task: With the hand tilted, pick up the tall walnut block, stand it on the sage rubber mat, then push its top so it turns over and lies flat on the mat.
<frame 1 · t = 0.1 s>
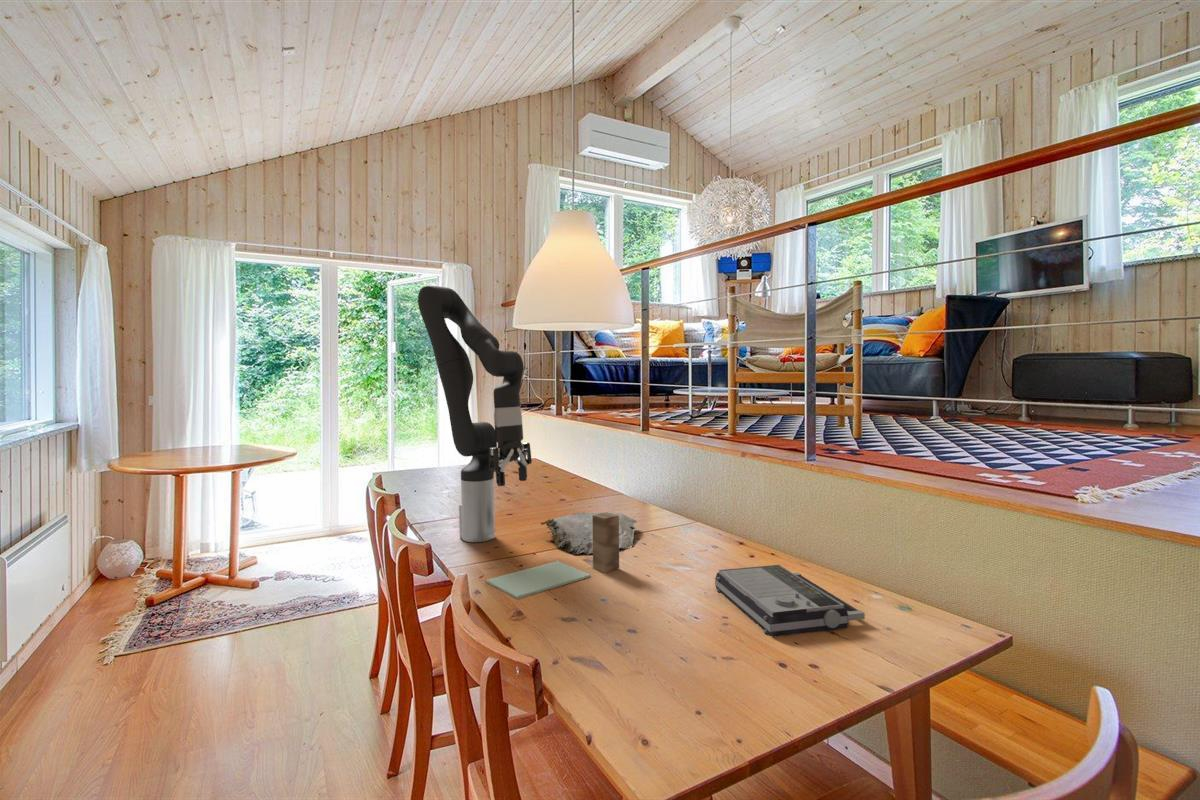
hand: (512, 483, 160), 17 cm above the table, tool pointing down, fingers open, 8 cm apart
radio: (785, 609, 118), on the table
stone fragment: (594, 540, 167), on the table
mat: (538, 579, 135), on the table
walnut block: (606, 568, 142), on the table
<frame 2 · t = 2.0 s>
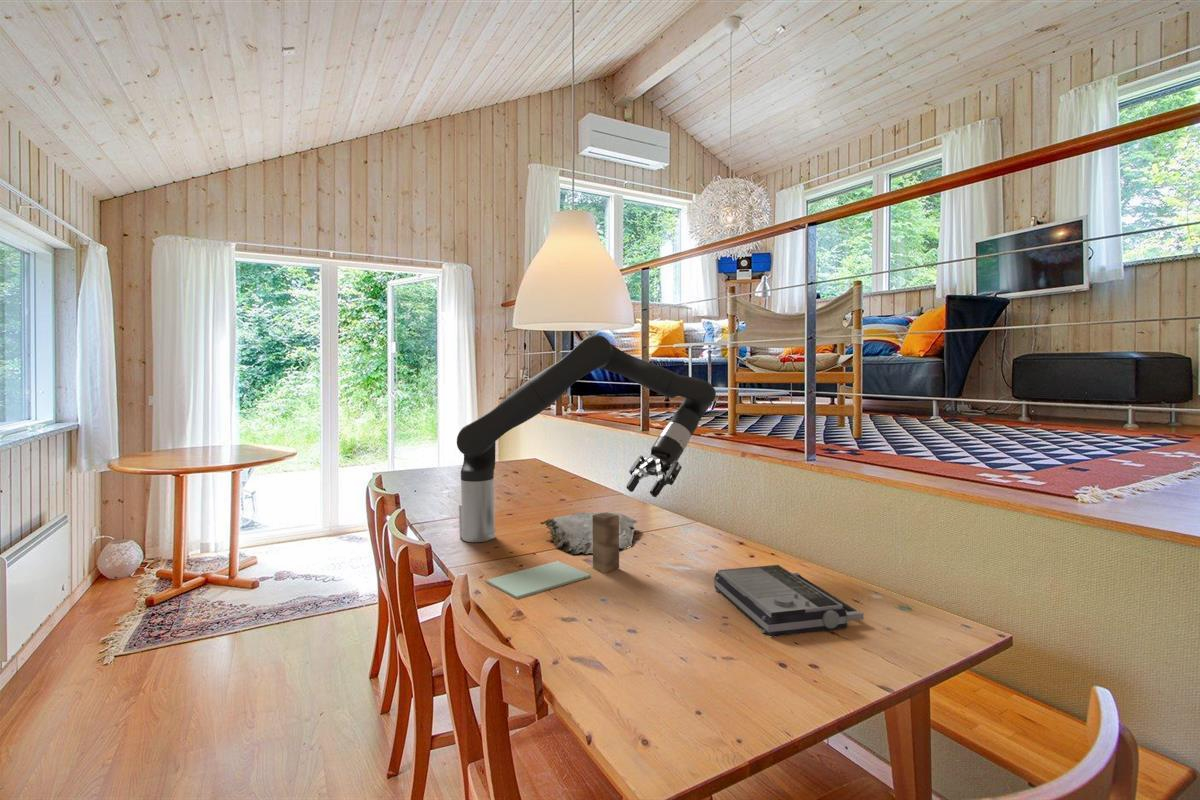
hand: (640, 492, 148), 17 cm above the table, tool tilted 45°, fingers open, 8 cm apart
nothing on the table moved.
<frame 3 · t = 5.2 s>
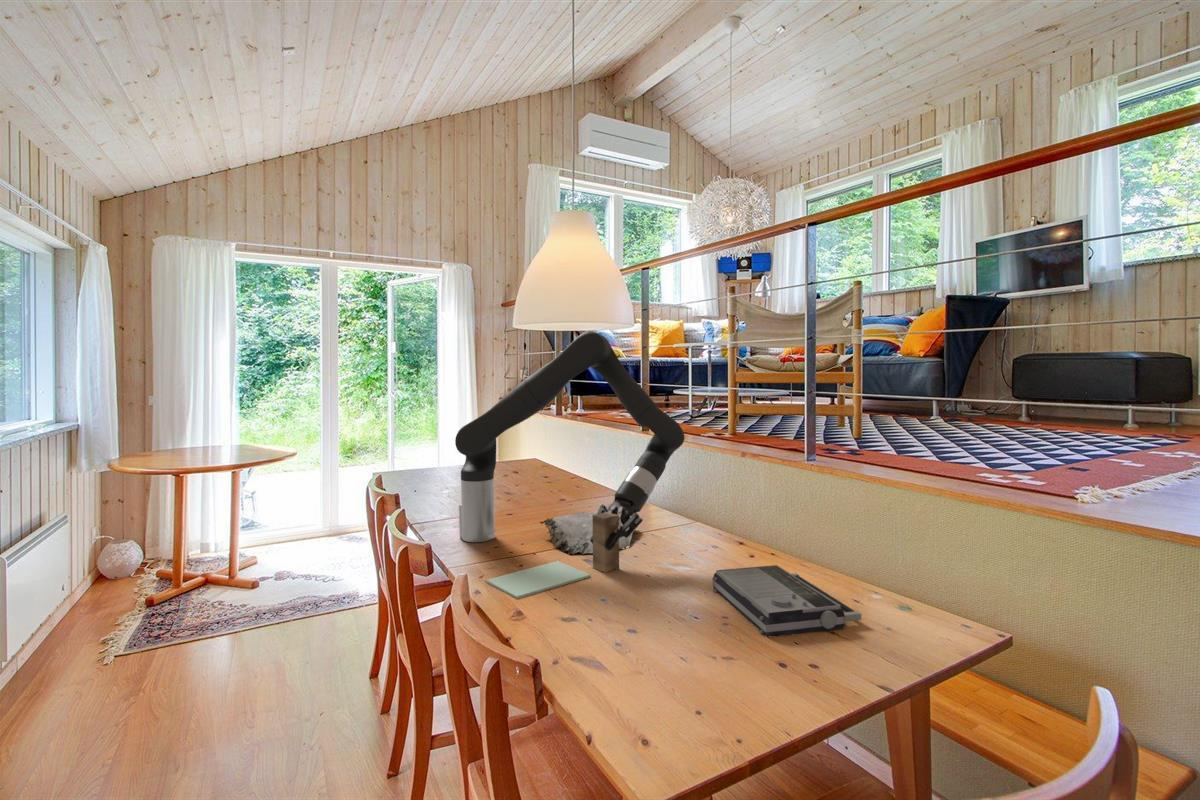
hand: (599, 545, 140), 6 cm above the table, tool tilted 45°, fingers closed on walnut block, 4 cm apart
walnut block: (606, 568, 142), on the table, touching gripper
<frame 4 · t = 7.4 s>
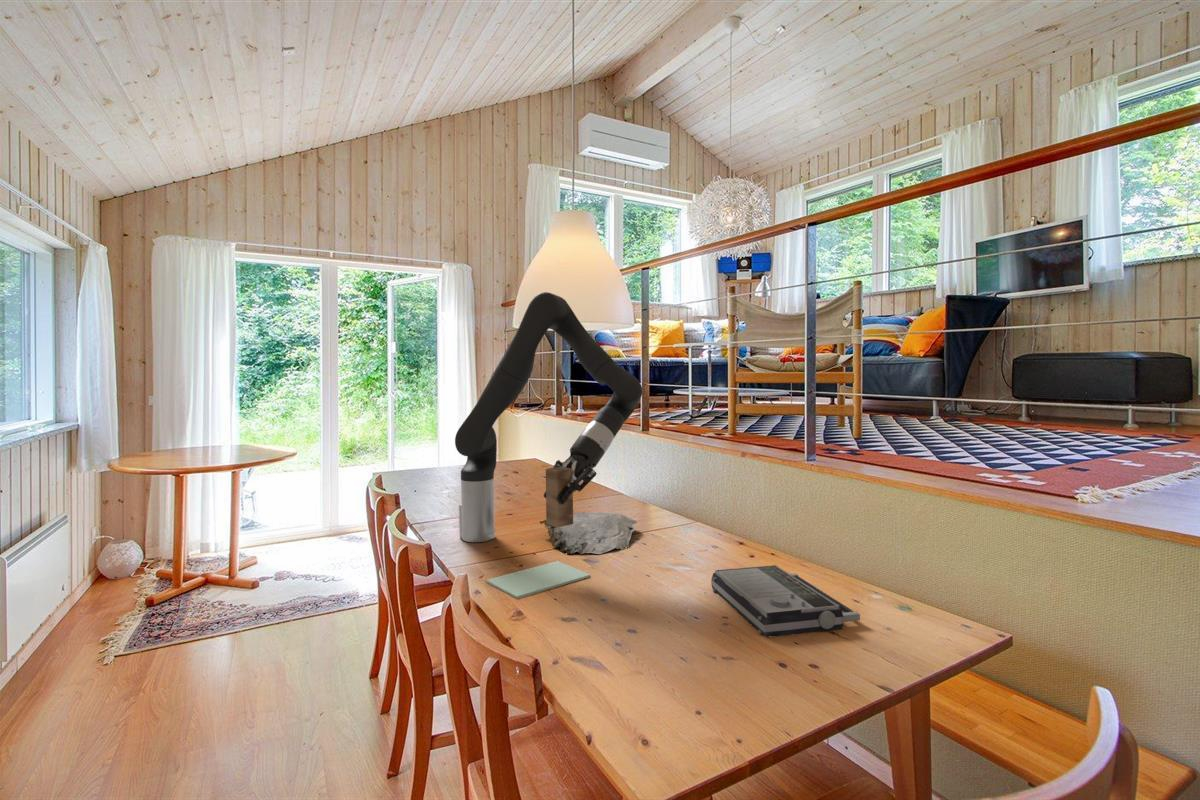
hand: (552, 500, 136), 18 cm above the table, tool tilted 45°, fingers closed on walnut block, 4 cm apart
walnut block: (559, 523, 138), point 12 cm above the table, touching gripper
everything else where it was.
when the fingers open (8 cm above the table, at t = 9.6 s): walnut block drops 1 cm, resting on mat.
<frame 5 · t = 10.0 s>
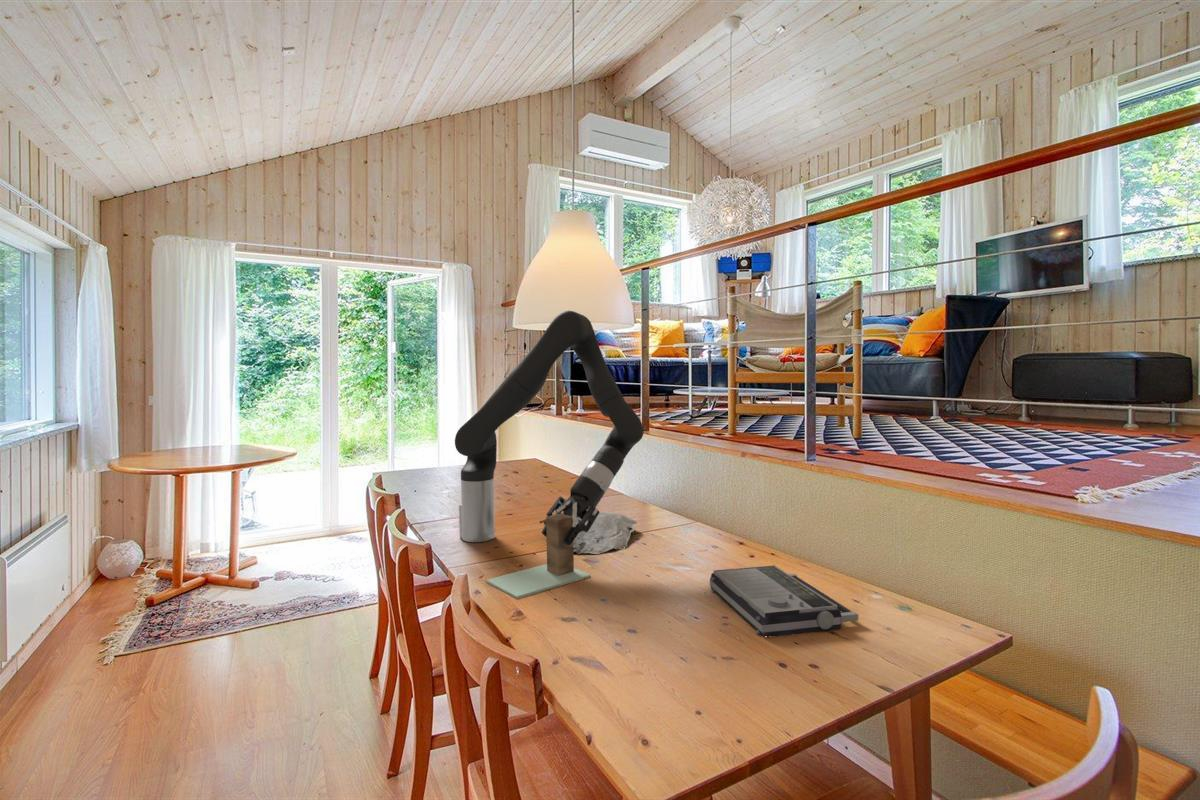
hand: (554, 539, 137), 8 cm above the table, tool tilted 45°, fingers open, 8 cm apart
walnut block: (560, 571, 139), resting on mat
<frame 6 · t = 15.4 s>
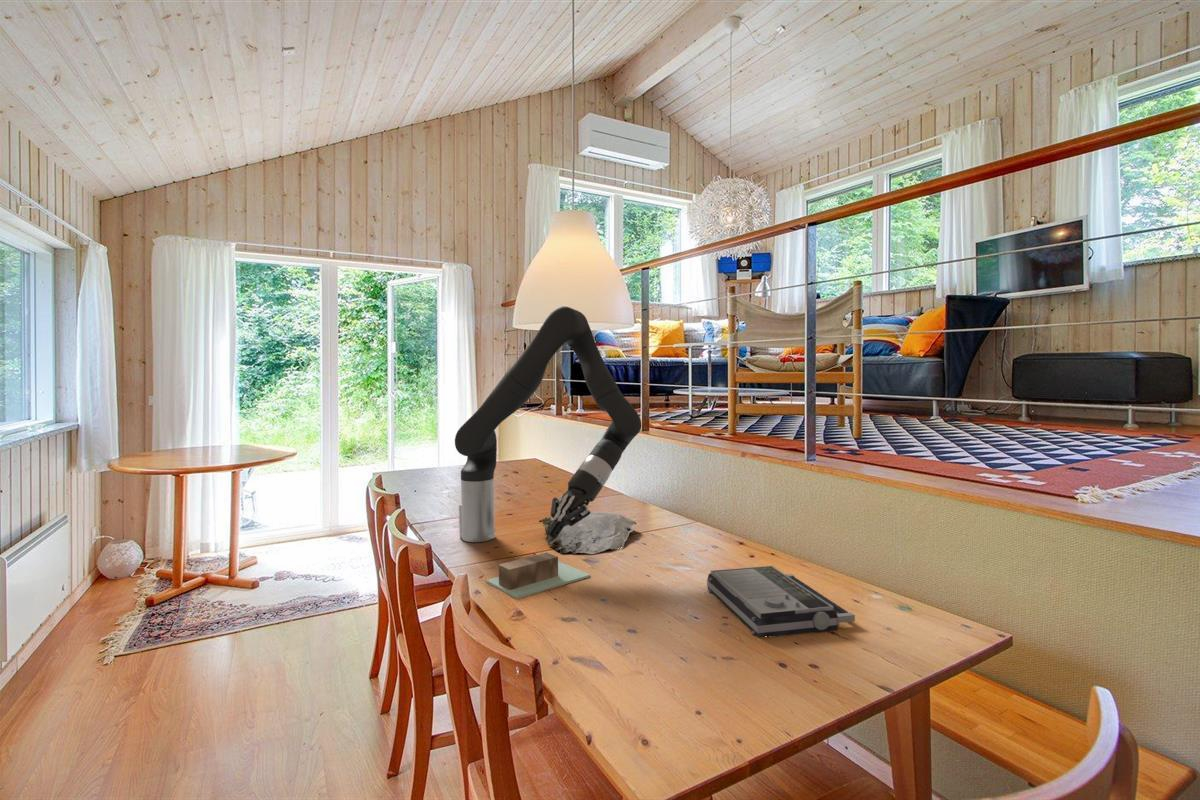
hand: (549, 536, 136), 9 cm above the table, tool tilted 45°, fingers closed
walnut block: (552, 564, 137), point 3 cm above the table, tilted 90°, touching mat
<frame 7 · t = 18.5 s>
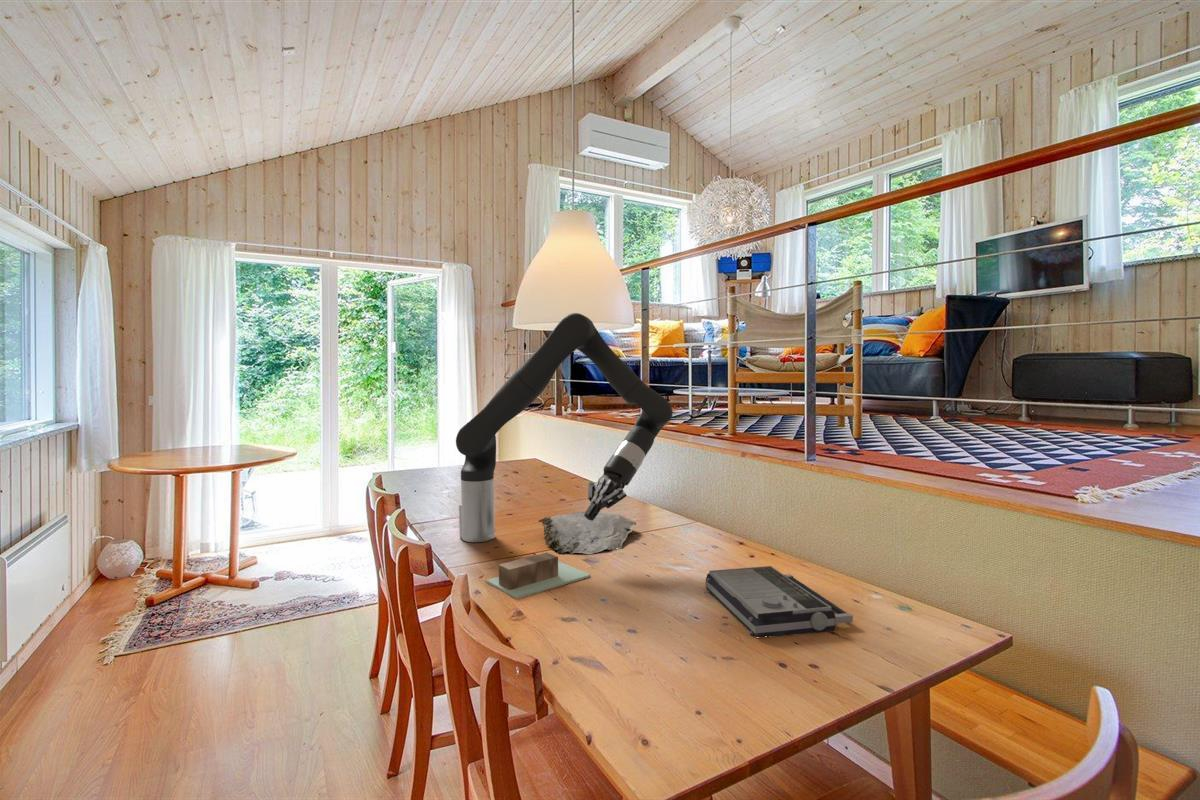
hand: (588, 518, 143), 12 cm above the table, tool tilted 45°, fingers closed
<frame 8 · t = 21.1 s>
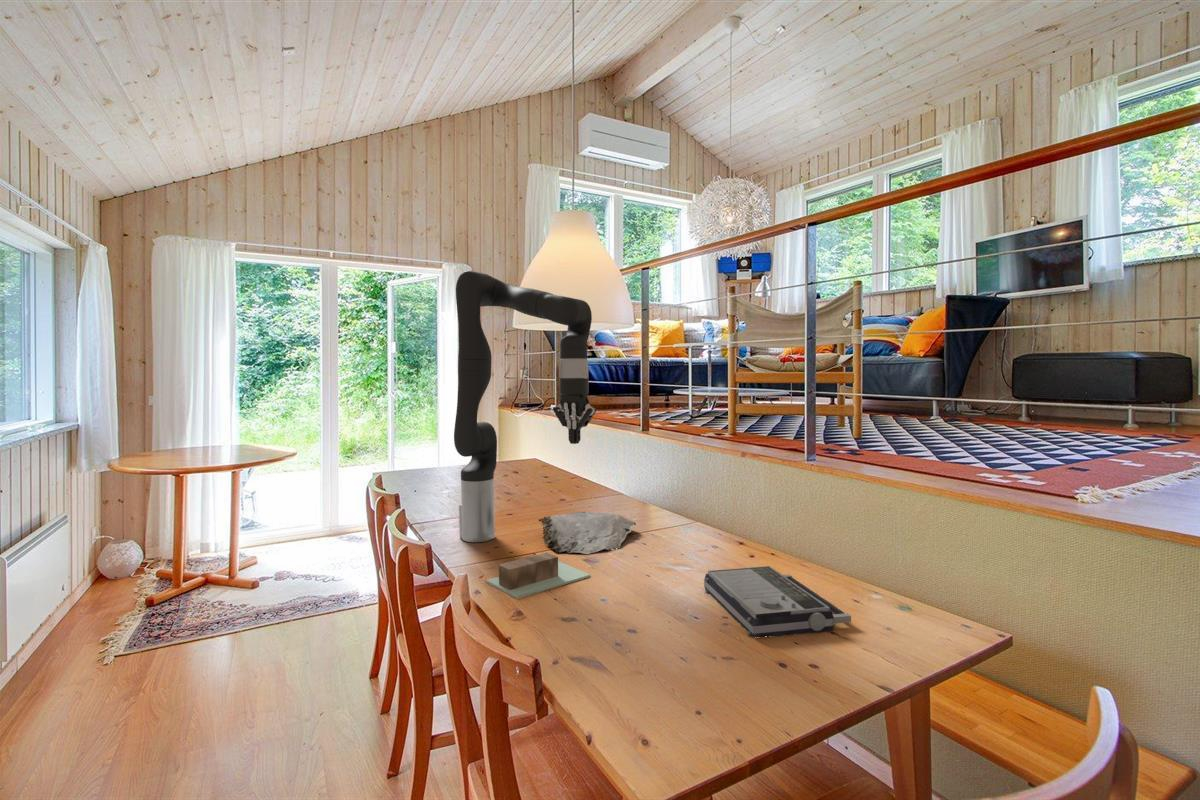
hand: (574, 443, 152), 29 cm above the table, tool pointing down, fingers closed
at the end: walnut block tilted 90°; walnut block 3.8 cm from the mat (horizontally); the gripper is holding nothing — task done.
